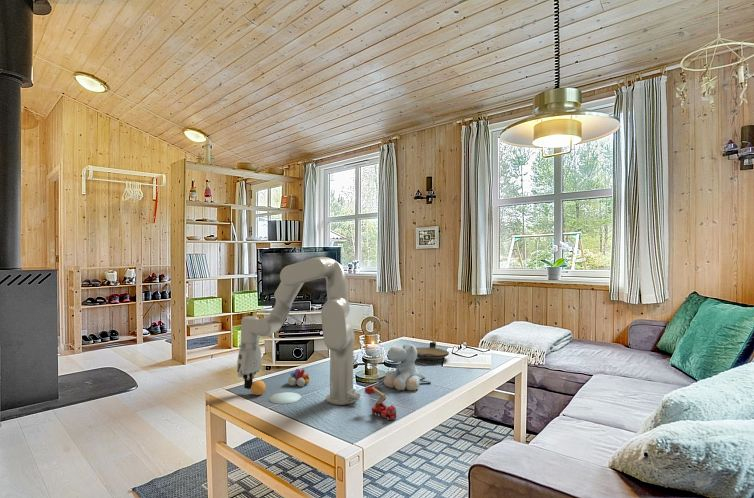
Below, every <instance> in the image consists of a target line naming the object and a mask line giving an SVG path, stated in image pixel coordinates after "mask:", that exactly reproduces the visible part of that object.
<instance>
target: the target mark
mask: <svg viewBox="0 0 754 498" xmlns="http://www.w3.org/2000/svg"><path fill="white" fill-rule="evenodd" d="M301 399H302V395H300V393H296V392H292V391H291V392H290V391H289V392H286V391H285V392H279V393H278V392H277V393H275V394H272V395H271V396H270V397H269V398H268V401H269V402H270V403H272V404H277V405H286V404H287V405H288V404H293V403H296V402H298V401H300V400H301Z"/></svg>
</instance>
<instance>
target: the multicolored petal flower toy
mask: <svg viewBox="0 0 754 498" xmlns="http://www.w3.org/2000/svg"><path fill="white" fill-rule="evenodd" d="M305 371H306V370H305V369H301V370H300V368H295V370H294V371H293V370H292V371H290V374H289V375H290V377H288V381H287V382H288V385H289V386H290V387H295V386H296V385H297V386H298V387H301V388H303V387H305V385H306V384H309V382H310V380H311V379H310V376H309V373H305Z"/></svg>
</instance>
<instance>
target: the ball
mask: <svg viewBox="0 0 754 498" xmlns="http://www.w3.org/2000/svg"><path fill="white" fill-rule="evenodd" d="M250 391H251V393H252V394H254V396H259V395H262V394H264V393H265V391H266V383H265V382H264V381H263V380H261V379H260V380H259V379H258V380H255V381H253V382H252V386H251V389H250Z"/></svg>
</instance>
